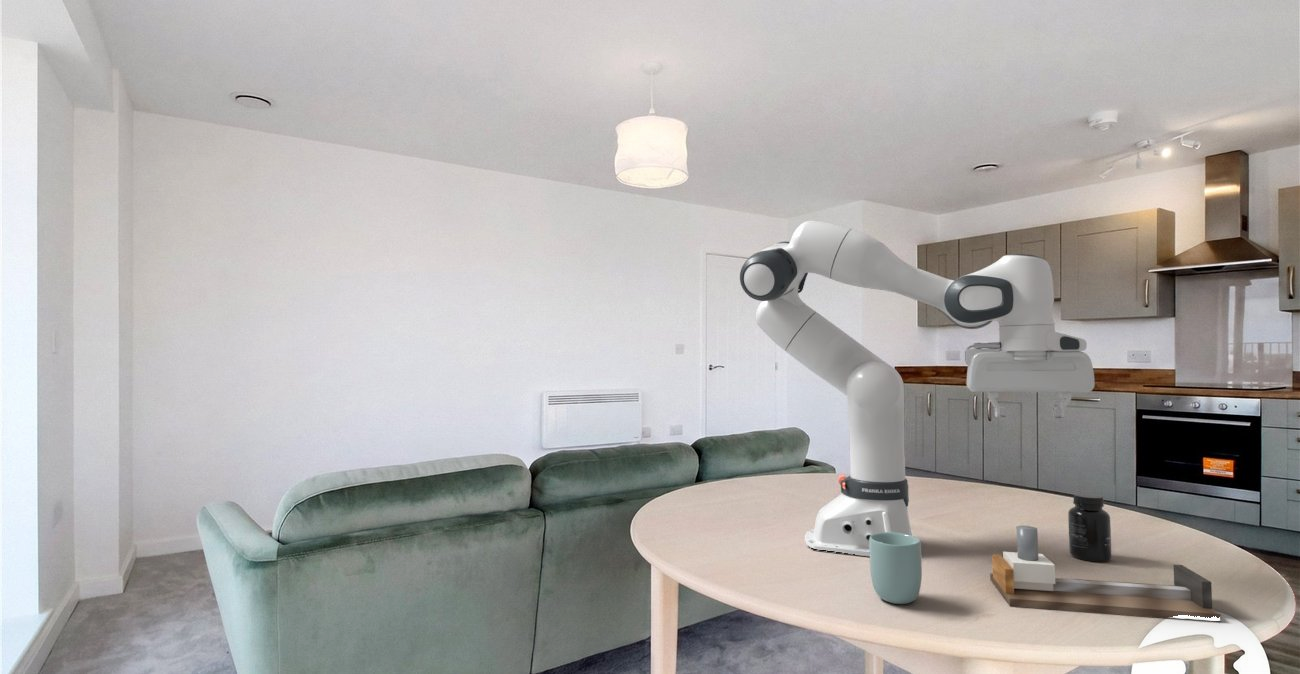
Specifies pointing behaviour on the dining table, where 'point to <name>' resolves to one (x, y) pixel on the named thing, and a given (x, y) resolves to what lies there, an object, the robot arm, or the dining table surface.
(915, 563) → the cup
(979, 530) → the dining table surface
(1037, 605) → the rail track
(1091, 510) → the supplement bottle
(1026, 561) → the slider
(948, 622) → the dining table surface
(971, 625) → the dining table surface
